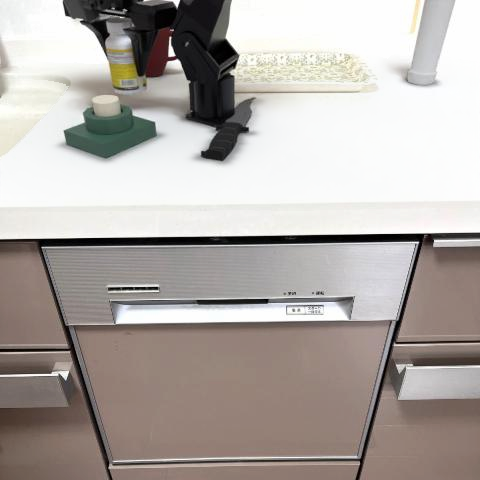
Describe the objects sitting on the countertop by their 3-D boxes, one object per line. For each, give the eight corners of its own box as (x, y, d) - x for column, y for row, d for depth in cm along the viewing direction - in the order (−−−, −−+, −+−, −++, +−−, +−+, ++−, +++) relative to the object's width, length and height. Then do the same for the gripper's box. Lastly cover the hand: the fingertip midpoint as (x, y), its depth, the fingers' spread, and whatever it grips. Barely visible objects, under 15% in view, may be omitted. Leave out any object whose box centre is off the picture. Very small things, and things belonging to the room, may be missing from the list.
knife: (236, 91, 81) (265, 93, 80) (236, 101, 82) (265, 103, 81) (196, 149, 62) (233, 152, 62) (197, 160, 64) (233, 164, 63)
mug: (187, 68, 96) (183, 10, 89) (184, 80, 90) (180, 18, 83) (134, 68, 96) (127, 10, 89) (129, 80, 90) (120, 18, 83)
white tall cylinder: (405, 83, 89) (445, -92, 72) (406, 76, 93) (444, -93, 76) (434, 86, 88) (481, -92, 71) (434, 78, 92) (478, -92, 75)
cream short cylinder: (126, 113, 66) (124, 98, 64) (107, 120, 64) (104, 105, 62) (108, 108, 67) (106, 93, 66) (89, 115, 65) (86, 99, 64)
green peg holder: (156, 135, 69) (153, 107, 67) (105, 158, 63) (100, 128, 60) (118, 123, 73) (113, 96, 70) (66, 144, 67) (59, 115, 64)
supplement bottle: (132, 83, 80) (122, 15, 73) (154, 89, 77) (146, 19, 70) (106, 91, 76) (93, 20, 70) (128, 97, 74) (117, 25, 67)
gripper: (18, -51, 64) (49, 75, 74) (114, -43, 56) (134, 97, 66) (82, -56, 71) (102, 60, 81) (176, -49, 63) (185, 78, 73)
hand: (128, 73), depth 75 cm, fingers closed on supplement bottle, 5 cm apart
